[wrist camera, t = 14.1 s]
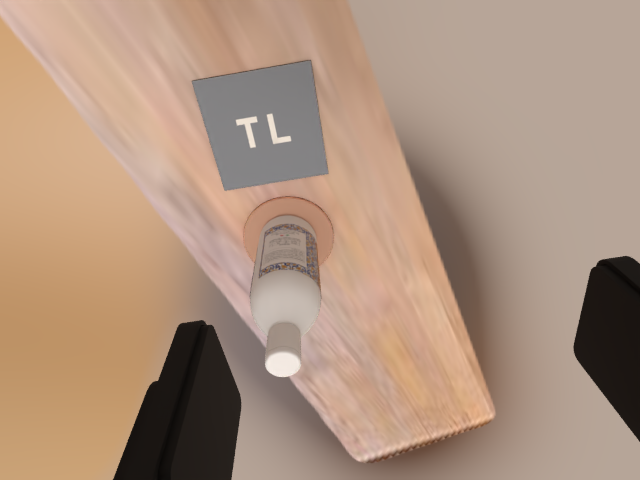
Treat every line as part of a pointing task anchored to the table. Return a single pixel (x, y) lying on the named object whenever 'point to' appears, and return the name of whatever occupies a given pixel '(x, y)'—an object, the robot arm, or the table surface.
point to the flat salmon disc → (293, 208)
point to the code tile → (263, 125)
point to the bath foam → (285, 290)
